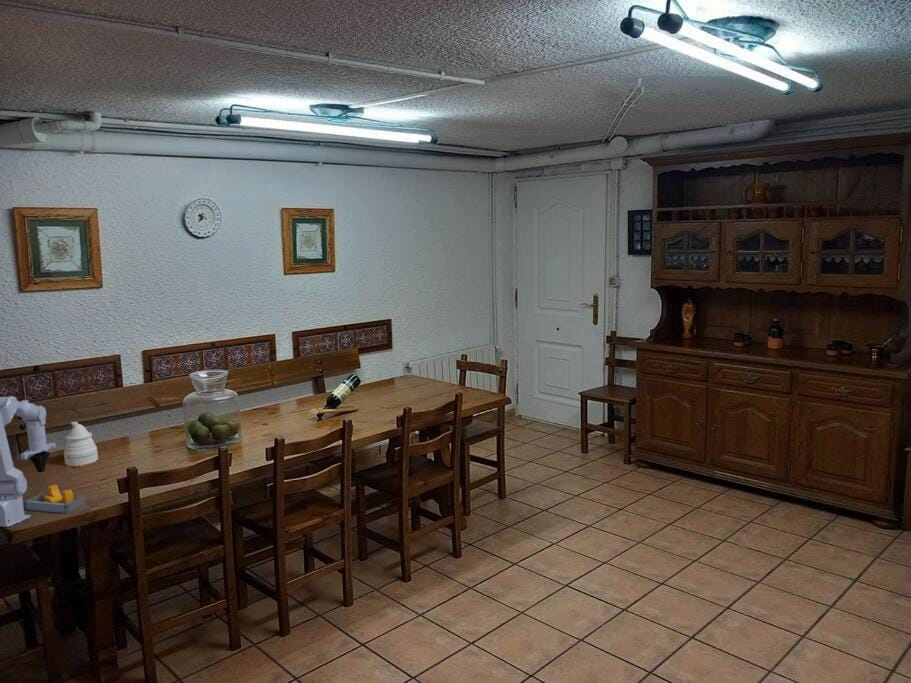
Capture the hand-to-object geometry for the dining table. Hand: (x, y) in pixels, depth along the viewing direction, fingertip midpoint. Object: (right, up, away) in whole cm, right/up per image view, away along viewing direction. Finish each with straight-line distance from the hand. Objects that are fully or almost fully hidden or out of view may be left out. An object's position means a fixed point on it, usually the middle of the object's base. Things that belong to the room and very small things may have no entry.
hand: (40, 471), depth 265 cm
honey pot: (-7, -3, +41) cm, 42 cm away
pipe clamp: (+12, -11, -9) cm, 19 cm away
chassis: (+11, -11, -9) cm, 18 cm away
